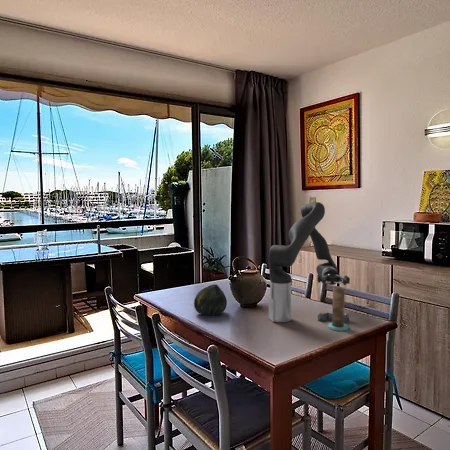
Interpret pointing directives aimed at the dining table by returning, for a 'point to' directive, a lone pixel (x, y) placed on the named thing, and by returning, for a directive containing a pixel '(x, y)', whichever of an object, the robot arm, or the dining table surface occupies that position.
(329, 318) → the zigzag rail
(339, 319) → the walnut peg
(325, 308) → the dining table surface
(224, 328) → the dining table surface
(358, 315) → the dining table surface
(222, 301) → the squash
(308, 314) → the dining table surface
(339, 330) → the teal pad
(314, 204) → the robot arm
